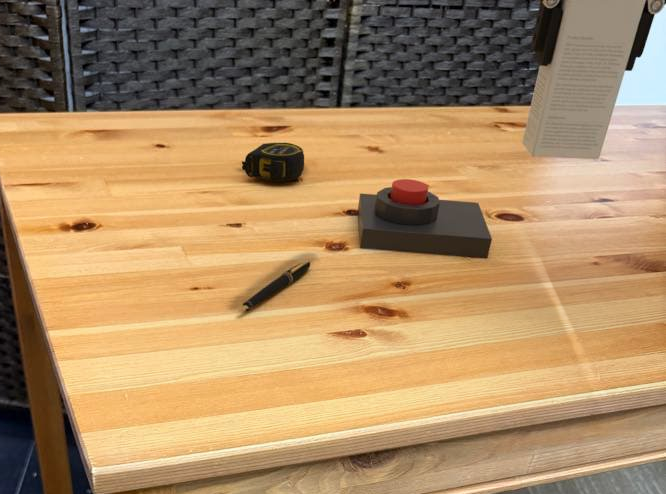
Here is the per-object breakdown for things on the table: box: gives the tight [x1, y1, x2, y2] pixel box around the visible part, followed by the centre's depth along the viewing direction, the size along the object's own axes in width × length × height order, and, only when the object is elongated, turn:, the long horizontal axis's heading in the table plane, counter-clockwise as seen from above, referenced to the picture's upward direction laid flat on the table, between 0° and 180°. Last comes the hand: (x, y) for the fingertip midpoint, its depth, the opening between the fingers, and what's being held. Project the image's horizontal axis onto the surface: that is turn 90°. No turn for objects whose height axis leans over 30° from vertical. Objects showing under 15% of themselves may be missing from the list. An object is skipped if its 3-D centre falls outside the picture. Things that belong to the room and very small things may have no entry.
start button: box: [390, 178, 429, 205], centre depth 90 cm, size 4×4×2 cm
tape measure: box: [241, 142, 305, 183], centre depth 103 cm, size 7×7×4 cm
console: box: [357, 186, 493, 259], centre depth 92 cm, size 14×11×4 cm
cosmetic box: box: [522, 0, 646, 160], centre depth 68 cm, size 6×4×12 cm
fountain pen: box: [237, 259, 311, 313], centre depth 79 cm, size 14×1×2 cm, turn 149°
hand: (582, 62), depth 67 cm, fingers closed on cosmetic box, 6 cm apart
